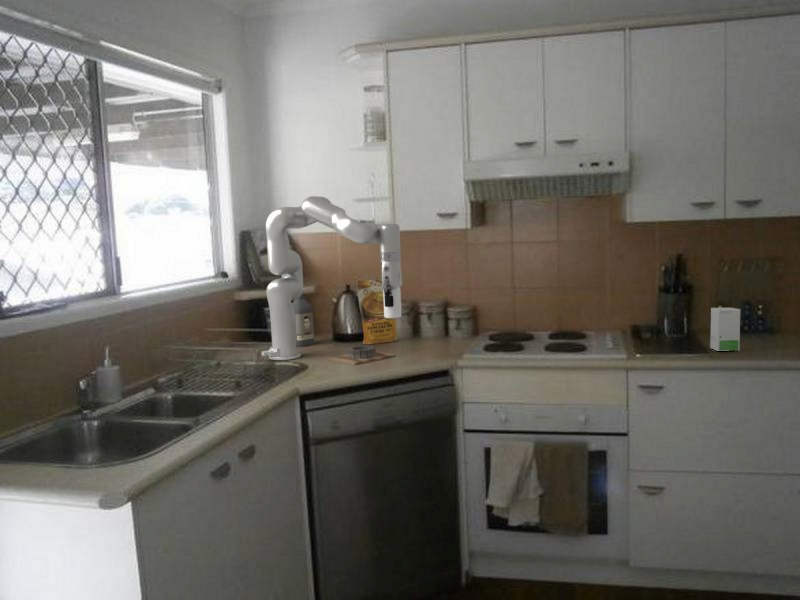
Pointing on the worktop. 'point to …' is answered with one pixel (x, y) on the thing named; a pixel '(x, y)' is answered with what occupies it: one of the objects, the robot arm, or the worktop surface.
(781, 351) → the worktop surface
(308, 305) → the liquor
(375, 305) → the pancake mix bag
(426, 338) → the worktop surface
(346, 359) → the socket
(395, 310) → the can
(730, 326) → the skincare box
